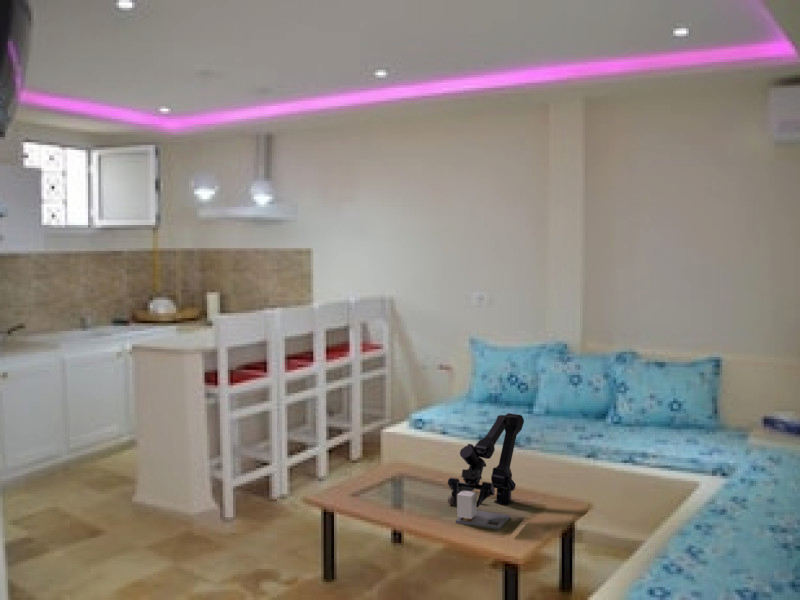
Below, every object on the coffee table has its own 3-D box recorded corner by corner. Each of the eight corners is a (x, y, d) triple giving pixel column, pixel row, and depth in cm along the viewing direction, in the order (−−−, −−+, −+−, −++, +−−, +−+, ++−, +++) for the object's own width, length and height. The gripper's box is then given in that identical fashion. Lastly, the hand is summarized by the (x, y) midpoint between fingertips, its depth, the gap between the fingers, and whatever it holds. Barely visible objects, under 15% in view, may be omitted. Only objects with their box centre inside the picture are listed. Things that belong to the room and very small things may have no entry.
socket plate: (468, 515, 296) (468, 509, 296) (509, 521, 288) (509, 515, 288) (455, 526, 283) (455, 520, 283) (499, 533, 276) (499, 526, 276)
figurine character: (461, 514, 301) (478, 500, 313) (460, 497, 300) (477, 484, 312) (447, 512, 305) (464, 498, 317) (446, 495, 304) (463, 481, 316)
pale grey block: (462, 517, 289) (462, 490, 288) (476, 519, 286) (476, 492, 286) (457, 522, 284) (457, 494, 283) (471, 524, 281) (471, 496, 280)
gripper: (448, 458, 292) (438, 492, 283) (492, 463, 284) (483, 498, 275) (456, 472, 300) (446, 506, 290) (498, 477, 291) (490, 512, 282)
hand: (466, 505), depth 284 cm, fingers open, 9 cm apart
